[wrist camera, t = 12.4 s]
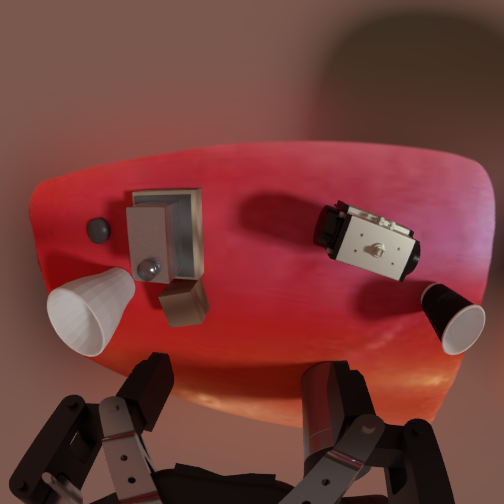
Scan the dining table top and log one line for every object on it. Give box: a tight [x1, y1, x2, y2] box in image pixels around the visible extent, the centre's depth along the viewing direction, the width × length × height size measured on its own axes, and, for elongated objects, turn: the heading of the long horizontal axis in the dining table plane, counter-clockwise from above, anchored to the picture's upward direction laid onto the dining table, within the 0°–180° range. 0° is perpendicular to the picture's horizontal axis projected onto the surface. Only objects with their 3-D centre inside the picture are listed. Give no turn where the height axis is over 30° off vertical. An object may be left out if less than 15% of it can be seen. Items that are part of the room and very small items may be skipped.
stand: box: [132, 188, 204, 280], centre depth 37 cm, size 12×9×3 cm
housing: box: [126, 201, 183, 284], centre depth 32 cm, size 9×5×6 cm, turn 178°
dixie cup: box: [421, 283, 485, 355], centre depth 32 cm, size 8×8×11 cm
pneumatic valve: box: [313, 200, 420, 282], centre depth 30 cm, size 6×12×12 cm, turn 74°
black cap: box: [87, 218, 111, 244], centre depth 39 cm, size 4×4×2 cm
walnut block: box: [158, 279, 210, 327], centre depth 39 cm, size 5×5×5 cm
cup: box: [47, 267, 135, 357], centre depth 36 cm, size 10×10×14 cm
